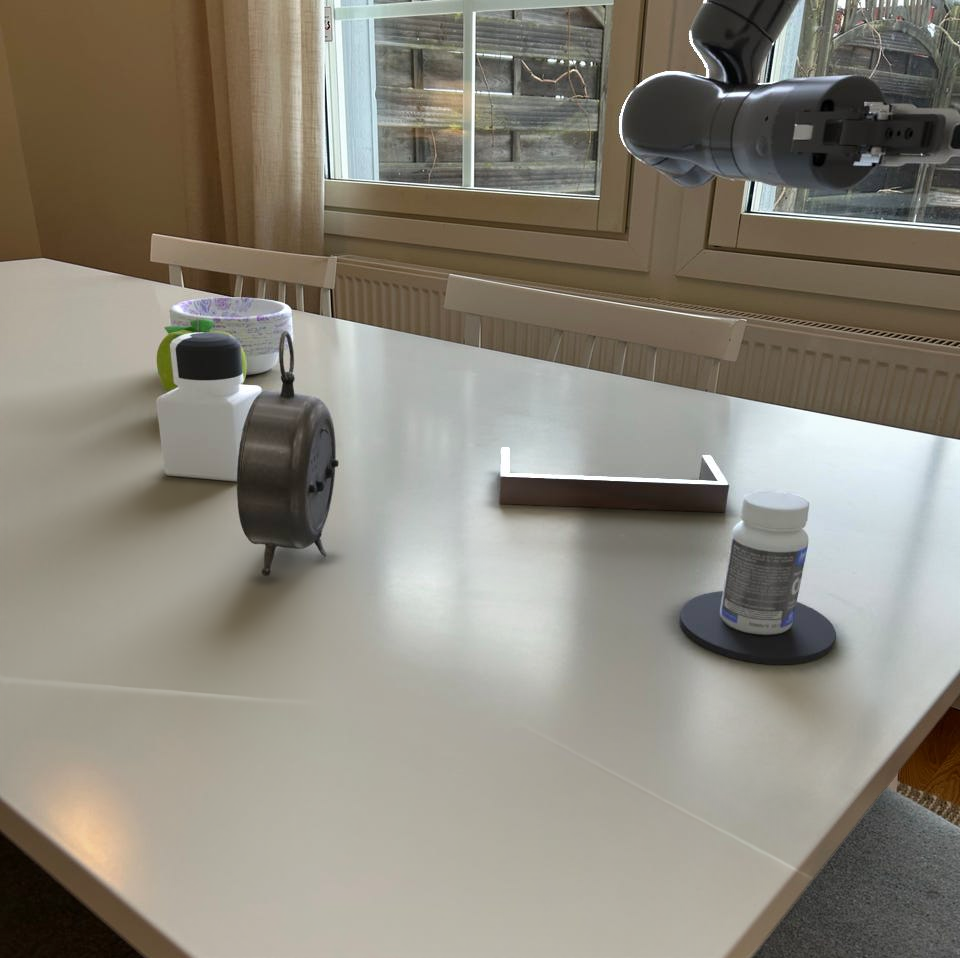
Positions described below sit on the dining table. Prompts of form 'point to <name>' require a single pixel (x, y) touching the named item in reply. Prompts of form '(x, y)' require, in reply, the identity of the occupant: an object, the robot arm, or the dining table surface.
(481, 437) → the dining table surface
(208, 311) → the white round bowl
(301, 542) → the alarm clock
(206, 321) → the fruit
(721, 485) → the bracket
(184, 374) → the medicine bottle
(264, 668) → the dining table surface
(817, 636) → the coaster
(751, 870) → the dining table surface
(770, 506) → the pill bottle
